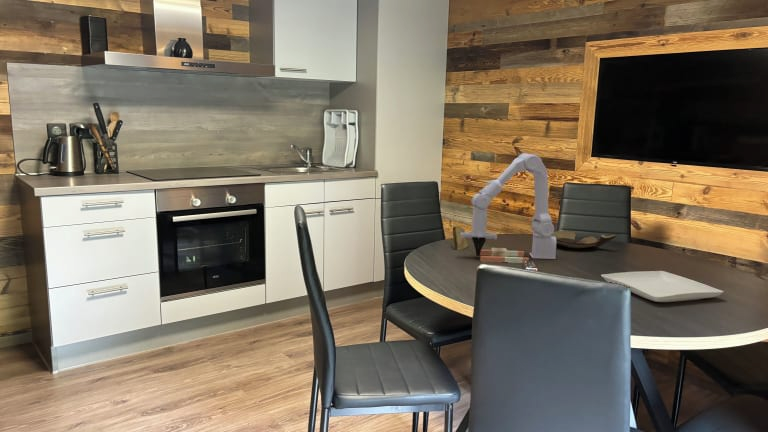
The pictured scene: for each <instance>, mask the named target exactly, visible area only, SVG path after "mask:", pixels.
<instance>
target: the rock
mask: <svg viewBox="0 0 768 432" xmlns="http://www.w3.org/2000/svg"><path fill="white" fill-rule="evenodd" d="M461 233H466V232H465V229H464V228H463V227H461V226H459V225H457V226H456V225H455V226H453V227H452V239H453V240H452V241H453V242H452V243H453V244H452V247H453V248H452V249H454V250H456V251H461V250H464V249H466V248H467V247H469V246H470V242H469V238H461Z"/></svg>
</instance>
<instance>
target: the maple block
mask: <svg viewBox="0 0 768 432" xmlns="http://www.w3.org/2000/svg"><path fill="white" fill-rule="evenodd" d="M490 250H491V255H490V256H496V257H508V256H507V251H508V249H507V248H504V247H491V249H490Z"/></svg>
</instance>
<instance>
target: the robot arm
mask: <svg viewBox="0 0 768 432" xmlns="http://www.w3.org/2000/svg"><path fill="white" fill-rule="evenodd" d="M526 171H527V172H528V173H530V174H531V175H533V178H534V179H533V181H534V185H533V186H534V187H533V188H534V214H533V215H532V222H531V225H530V228H531V230H532V231H533V234H532V243H531V246H532V247H531V252H529V255H530V256H531V258H532V259H546V260H547V259H549V260H556V259H557V258H556V257H557V256H556V254H557V243H556V237H553V236H551V235H552V234H553V232H554V231H555V227H554V224H553V221H552V220H553V219H552V217H551V215H550V213H549V184H548V183H549V179H548V178H549V176H548V174H549V173H548V169H547V168H546V165H545V164H544V163H543V161H542V158H541V157H539V156H538V155H536V154H531V153H526V152H524V153H520V154H519V155H518V156H517V157H516V158H514V160H512V162H511V163H510V164H509V165H508V166H507V168H506V169H505V170H504V171H503V172H502V173H501V174H500V175H499V177H497V178H496V179H491V180H488V181H487V182H486V183H487V184H486V185H485V186H484V187H482V189H480V190H478V193H475V194H474V195H473V196H472V199H471V200H470V201H471V204H472V209H473V210H472V221H471V224H472V225H471V231H469V232H465V233H461V238H468V239H471V240H472V243H473V245H474V249H475V256H477V257H481V255H480V252H481V250H483V247H484V245H485V243H486V241H487V240H488V239H491V240H497V239H498V233H490V232H487V222H488V221H487V220H488V217H487V216H488V207H489V206H490V204H491V201H492V200H493V199H494V198H495V197H496V196H497V195H499V193H501V191H502V190H503V185H505V184H506V183H507V182H508V181H509V180H510V179H511V178H513V176H515V175H516V174H518V173H521V172H526ZM486 239H487V240H486Z"/></svg>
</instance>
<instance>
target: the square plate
mask: <svg viewBox="0 0 768 432" xmlns="http://www.w3.org/2000/svg"><path fill="white" fill-rule="evenodd" d="M600 276H601V277H602V278H603V279H604V280H605V281H606V282H607V283H609V282H612V283H617V284H621V285H625V286H627V287H630V289H631V291H632V292H631V293H632V294H634V295H637V296H640V297H641V298H644V299H647V300H650V301H652V302H656V303H672V302H684V301H696V300H703V299H709V298H710V299H711V298H715V297H718V296H720V295H722V294H723V293H724V292H725V291H724V290H721V289H718V288H715V287H713V286H711V285H707V284H705V283H701V282H698V281H696V280H693V279H689V278H687V277H684V276H681V275H677V274H674V273H670V272H668V271H664V270H654V271H651V270H649V271H648V270H646V271H626V272H614V273H606V274H605V273H604V274H601V275H600Z"/></svg>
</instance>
